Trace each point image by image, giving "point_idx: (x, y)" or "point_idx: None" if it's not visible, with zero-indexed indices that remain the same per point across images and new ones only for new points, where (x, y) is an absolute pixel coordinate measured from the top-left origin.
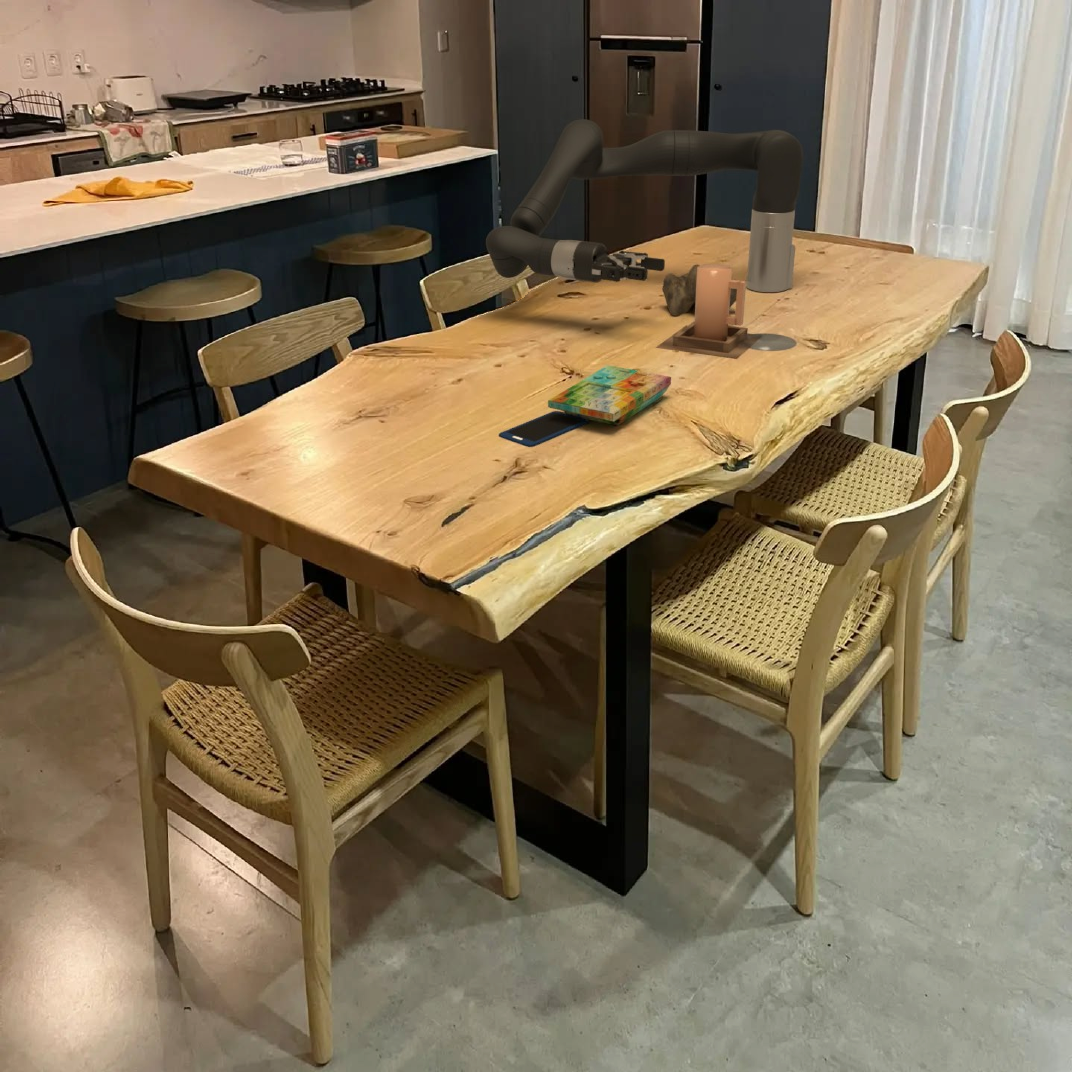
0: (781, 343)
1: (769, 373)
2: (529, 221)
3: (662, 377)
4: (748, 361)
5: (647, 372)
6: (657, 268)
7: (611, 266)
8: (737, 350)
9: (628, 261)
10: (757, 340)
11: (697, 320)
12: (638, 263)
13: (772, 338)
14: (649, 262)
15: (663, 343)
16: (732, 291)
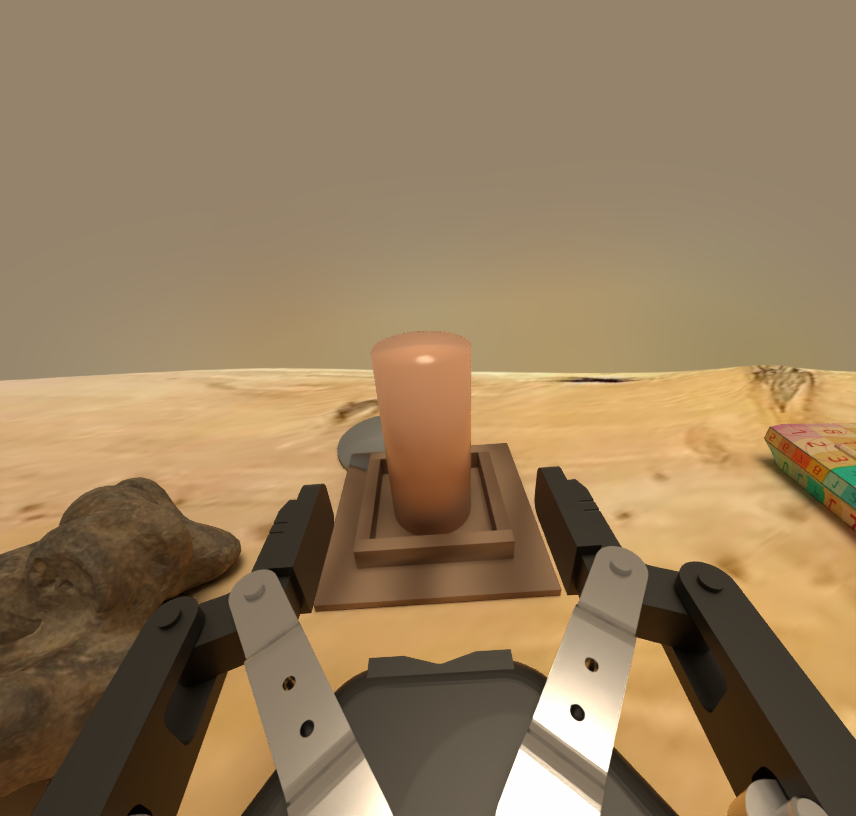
0: None
1: (522, 410)
2: None
3: (800, 427)
4: (490, 438)
5: (822, 451)
6: (327, 536)
7: (735, 648)
8: None
9: (394, 662)
10: None
11: (465, 477)
12: (182, 714)
13: (366, 440)
14: (308, 560)
15: (513, 586)
16: (168, 497)
